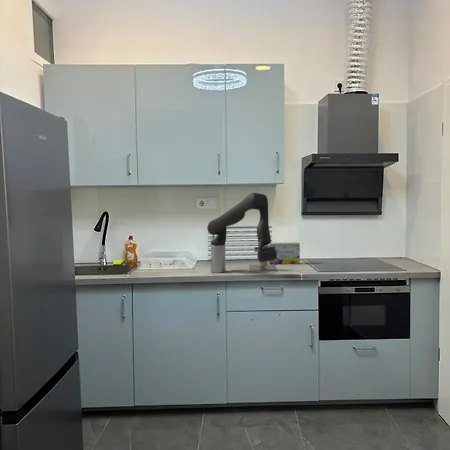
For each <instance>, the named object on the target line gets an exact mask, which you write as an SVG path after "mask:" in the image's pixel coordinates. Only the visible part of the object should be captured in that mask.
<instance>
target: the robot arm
mask: <svg viewBox="0 0 450 450" xmlns="http://www.w3.org/2000/svg"><path fill="white" fill-rule="evenodd" d="M268 200H269V199H268V196H267V195H266V194H263V193H258V192H251V193H249V194H248V195H247V196H246V197H245V198H243V199H242V200H241V201H240V202H239V203H237V204H236V205H234V206H232V207H231V208H230V209H228V210H227V211H225V212H224V213H222V214H221V215H220V216H218V217H217V218H214V219H212V220H210V221H209V222H208V225H207V227H206V228H207V232H208V233H209V234H210V235H214V236H215V235H216V236H215V238H213V239H212V240H211V241H210V273H214V274H215V273H225V272H226V271H227V270H226V265H227V264H226V243H227V242H226V241H227V229H228V228H227V227H230V226H234V225H236V224H238V223H239V222H241V221H242V220H243V219H245V217H246V212H248V211H250V210H258V211H259V221H258V224H257V227H256V237H257V244H258V245H257V247H256V246H255V247H254V252H255V253H256V252H257V254H256V255H257V260H258V261H260V262H265V261H267V262H269V261H272V260H275V259H276V258H277V252H276V250H275V247H270V246H269V244H270V243H272V238H271V232H270V225H269V201H268Z"/></svg>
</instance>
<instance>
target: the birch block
mask: <svg viewBox="0 0 450 450" xmlns="http://www.w3.org/2000/svg"><path fill="white" fill-rule="evenodd" d="M258 261H259V260H258ZM267 264H268V261H265V262H260V261H259V263H258V265H259V270H260V271H265V270H268V268H267Z"/></svg>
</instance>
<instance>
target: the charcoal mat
mask: <svg viewBox="0 0 450 450" xmlns="http://www.w3.org/2000/svg"><path fill="white" fill-rule="evenodd" d="M276 265H277V264H269V263H267V268H268V270H265V271H260V270H259V264H249V265H248V267H249V268H248V271H249V273H272V272H273V273H275V272H276V273H278V272H279V270H278V268H277V266H276Z"/></svg>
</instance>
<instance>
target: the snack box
mask: <svg viewBox="0 0 450 450" xmlns="http://www.w3.org/2000/svg"><path fill="white" fill-rule="evenodd" d="M300 244H301V243H300V242H298V241H297V242H296V241H294V242H286V241H285V242H271V243H270V244H268V245H269V246H270V247H275V250H276V252H277V258H276V259H275V260H272V261H268V264H275V265H300V264H301V263H300V262H301V261H300V260H301V259H300V258H301V257H300V253H301V251H300V250H301V248H300V247H301V246H300Z"/></svg>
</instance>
